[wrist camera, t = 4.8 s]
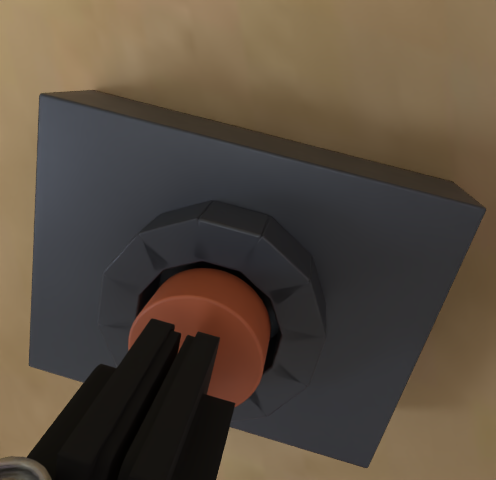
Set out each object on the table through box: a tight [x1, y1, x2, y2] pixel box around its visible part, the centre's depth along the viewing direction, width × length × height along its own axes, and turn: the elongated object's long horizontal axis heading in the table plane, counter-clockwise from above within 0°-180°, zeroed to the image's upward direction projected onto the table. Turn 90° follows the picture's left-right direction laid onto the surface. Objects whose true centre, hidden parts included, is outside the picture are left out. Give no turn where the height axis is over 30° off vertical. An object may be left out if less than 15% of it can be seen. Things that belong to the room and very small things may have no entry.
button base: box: [29, 90, 486, 468], centre depth 15 cm, size 13×10×5 cm
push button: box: [128, 268, 271, 407], centre depth 12 cm, size 4×4×2 cm
